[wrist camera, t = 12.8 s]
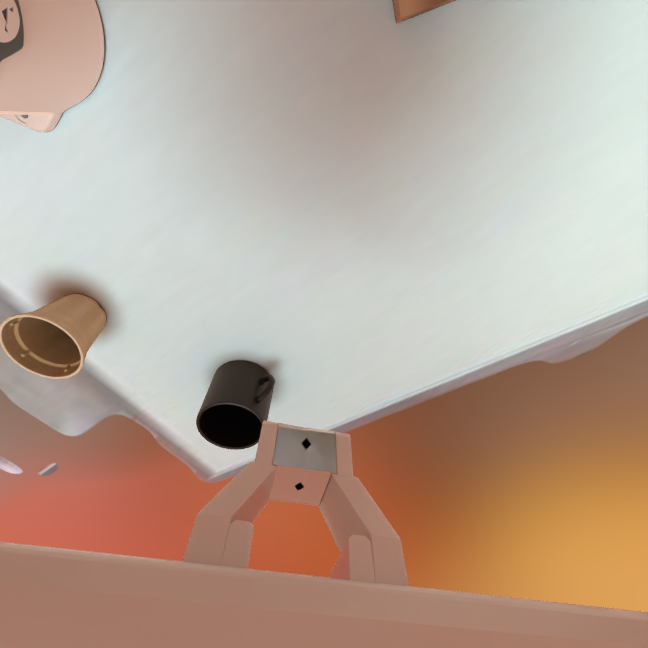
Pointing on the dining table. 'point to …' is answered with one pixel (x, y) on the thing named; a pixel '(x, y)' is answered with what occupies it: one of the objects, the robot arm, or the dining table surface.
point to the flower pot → (53, 336)
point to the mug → (236, 405)
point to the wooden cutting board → (415, 7)
